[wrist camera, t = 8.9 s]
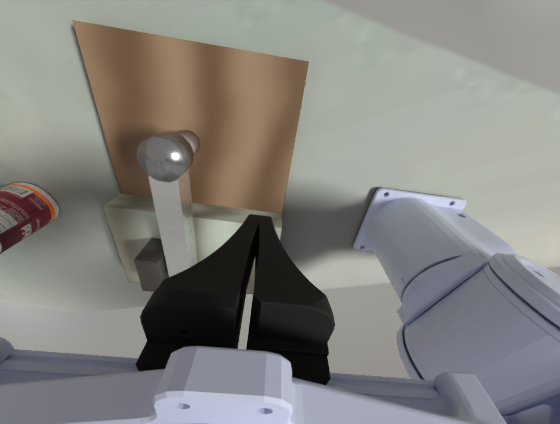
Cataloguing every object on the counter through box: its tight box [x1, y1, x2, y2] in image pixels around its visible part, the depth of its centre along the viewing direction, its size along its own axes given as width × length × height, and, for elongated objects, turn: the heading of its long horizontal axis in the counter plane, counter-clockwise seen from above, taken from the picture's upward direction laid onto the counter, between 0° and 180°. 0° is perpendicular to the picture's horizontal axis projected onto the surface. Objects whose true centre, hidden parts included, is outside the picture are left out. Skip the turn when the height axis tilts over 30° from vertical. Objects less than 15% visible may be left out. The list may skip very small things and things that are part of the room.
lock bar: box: [137, 131, 198, 277], centre depth 18 cm, size 14×3×2 cm, turn 172°
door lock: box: [72, 20, 309, 294], centre depth 19 cm, size 16×23×6 cm
